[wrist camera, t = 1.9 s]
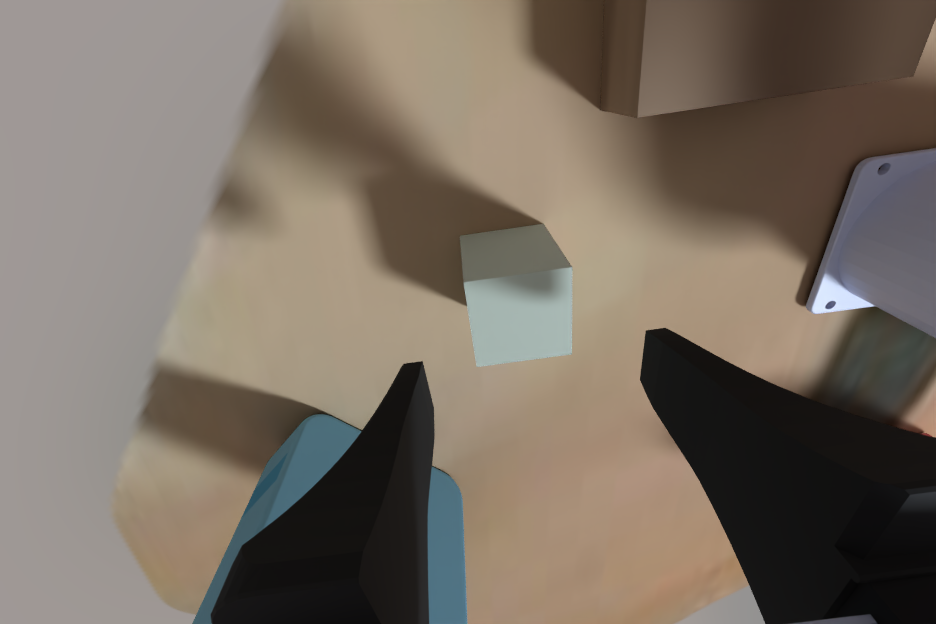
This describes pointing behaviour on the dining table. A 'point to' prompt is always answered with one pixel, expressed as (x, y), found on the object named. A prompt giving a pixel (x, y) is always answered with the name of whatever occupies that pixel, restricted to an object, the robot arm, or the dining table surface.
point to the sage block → (517, 295)
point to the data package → (304, 467)
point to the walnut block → (752, 49)
